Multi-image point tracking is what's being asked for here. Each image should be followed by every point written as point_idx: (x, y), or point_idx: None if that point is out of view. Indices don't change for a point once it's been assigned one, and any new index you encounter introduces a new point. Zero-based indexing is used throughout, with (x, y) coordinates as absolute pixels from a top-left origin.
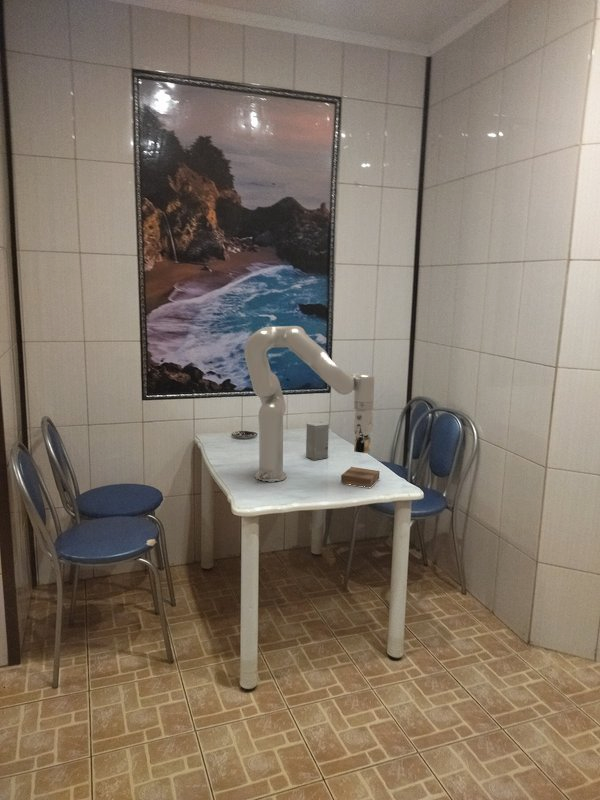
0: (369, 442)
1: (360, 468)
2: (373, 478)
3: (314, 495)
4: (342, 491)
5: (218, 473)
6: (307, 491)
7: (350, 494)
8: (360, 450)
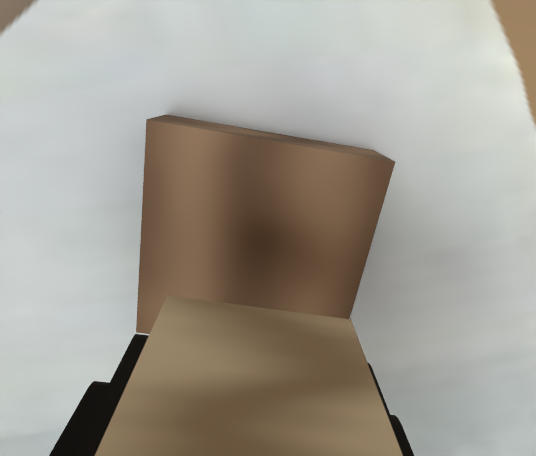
0: (196, 410)
1: (147, 271)
2: (315, 146)
3: (525, 397)
4: (451, 294)
5: None
6: (474, 431)
7: (495, 247)
8: (391, 417)
